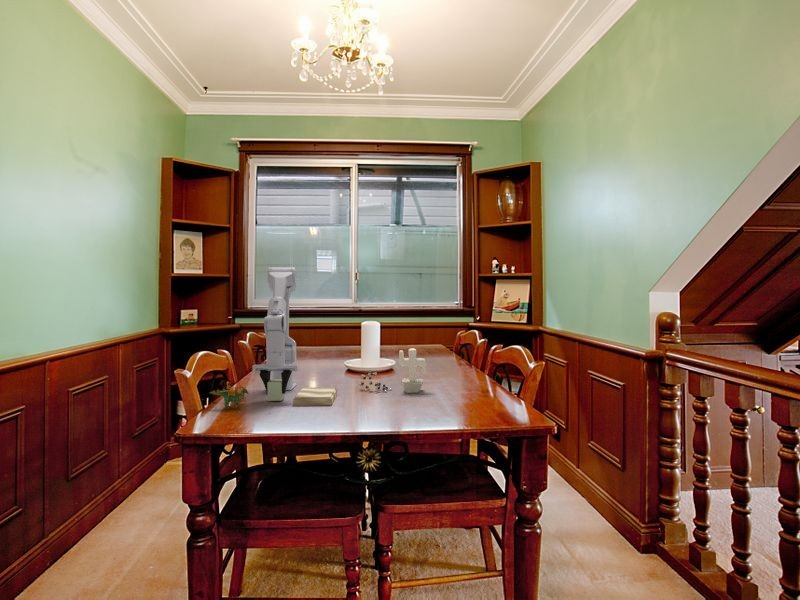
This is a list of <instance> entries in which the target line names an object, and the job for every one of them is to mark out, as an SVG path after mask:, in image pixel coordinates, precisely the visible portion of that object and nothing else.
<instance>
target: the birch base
mask: <svg viewBox="0 0 800 600" xmlns="http://www.w3.org/2000/svg"><path fill="white" fill-rule="evenodd" d="M337 396H338V388H337V387H335V386H334V387H302V388H301V389H300V390H299V391H298V393H297V394H296V395H295V396H294V397H293V399H292V406H295V407H296V406H297V407H299V406H304V407H305V406H309V407H310V406H333V405H334V404H333V403H334V402H335V400H336V398H337Z"/></svg>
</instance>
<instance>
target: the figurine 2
mask: <svg viewBox="0 0 800 600" xmlns="http://www.w3.org/2000/svg"><path fill="white" fill-rule="evenodd" d="M404 356H405V354H404V351H403V349H401V350H399V352H398V362H399V366H401V367H408V377H409V378H402V380H401V384H402V387H403V388H404V391H405V393H406V394H407V393H413V394H414V393H415V394H417V393H418V394H419V392H420V390H421V388H422V387H423V383H424V379H423V378H417V367H420V368H421V369H420V371H421V374H423V375H425V374H426V373H427V362H426V359H425V358H421V357H419V358H418V357H417V349H416V348H415V347H413V348H412V347H410V348H409V349H408V357H407V358H405V357H404Z"/></svg>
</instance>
